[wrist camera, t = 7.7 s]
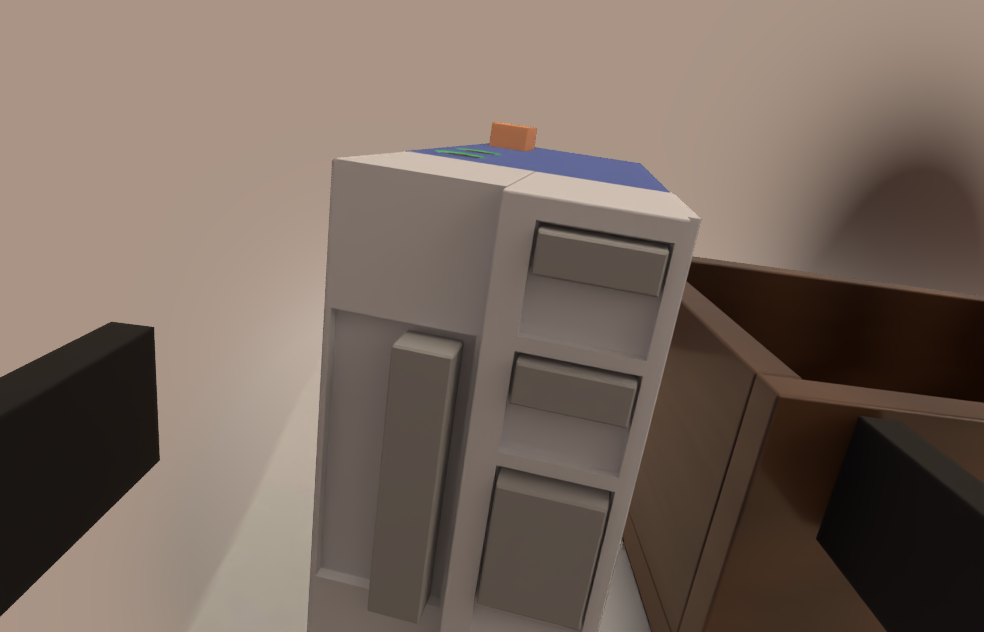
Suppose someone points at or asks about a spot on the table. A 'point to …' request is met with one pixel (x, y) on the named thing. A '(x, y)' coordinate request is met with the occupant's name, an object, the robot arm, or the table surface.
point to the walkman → (487, 383)
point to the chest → (786, 437)
